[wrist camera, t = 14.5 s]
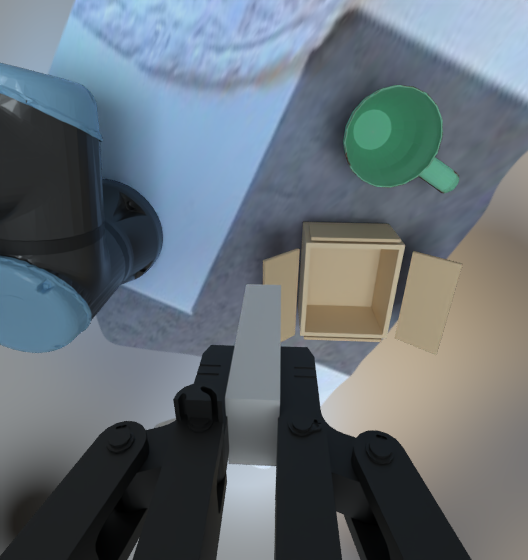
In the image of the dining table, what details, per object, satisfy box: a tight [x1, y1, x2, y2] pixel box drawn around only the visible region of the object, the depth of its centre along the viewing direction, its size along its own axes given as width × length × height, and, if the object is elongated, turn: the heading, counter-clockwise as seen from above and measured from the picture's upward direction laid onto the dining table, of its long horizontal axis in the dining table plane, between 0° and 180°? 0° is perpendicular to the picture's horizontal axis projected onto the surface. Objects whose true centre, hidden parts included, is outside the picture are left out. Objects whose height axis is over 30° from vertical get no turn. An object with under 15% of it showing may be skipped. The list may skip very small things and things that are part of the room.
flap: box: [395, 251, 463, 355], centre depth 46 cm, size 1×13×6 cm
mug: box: [343, 85, 459, 193], centre depth 42 cm, size 15×10×10 cm
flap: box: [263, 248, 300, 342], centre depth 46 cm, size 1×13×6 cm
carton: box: [298, 222, 405, 342], centre depth 51 cm, size 12×15×8 cm
